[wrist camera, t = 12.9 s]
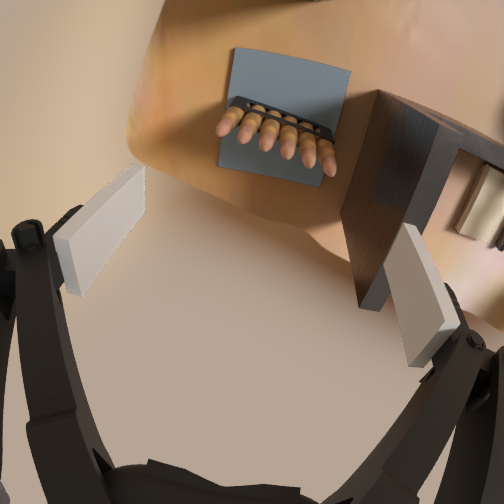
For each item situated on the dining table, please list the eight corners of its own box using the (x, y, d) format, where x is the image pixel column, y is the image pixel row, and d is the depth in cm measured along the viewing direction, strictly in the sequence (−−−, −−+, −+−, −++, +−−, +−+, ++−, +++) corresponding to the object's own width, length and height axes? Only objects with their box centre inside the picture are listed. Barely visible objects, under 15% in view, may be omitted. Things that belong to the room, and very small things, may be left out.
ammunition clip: (231, 110, 32) (202, 142, 22) (236, 95, 31) (209, 119, 21) (325, 144, 33) (338, 190, 23) (331, 129, 32) (348, 170, 22)
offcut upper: (514, 179, 30) (519, 183, 30) (484, 238, 36) (487, 243, 36) (486, 163, 30) (490, 167, 29) (455, 228, 36) (458, 233, 35)
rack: (537, 165, 29) (607, 228, 16) (492, 256, 38) (537, 334, 26) (378, 89, 29) (439, 124, 16) (340, 213, 38) (358, 308, 26)
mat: (350, 71, 28) (351, 71, 28) (319, 185, 36) (319, 187, 36) (236, 47, 28) (235, 47, 28) (218, 164, 36) (217, 166, 36)
